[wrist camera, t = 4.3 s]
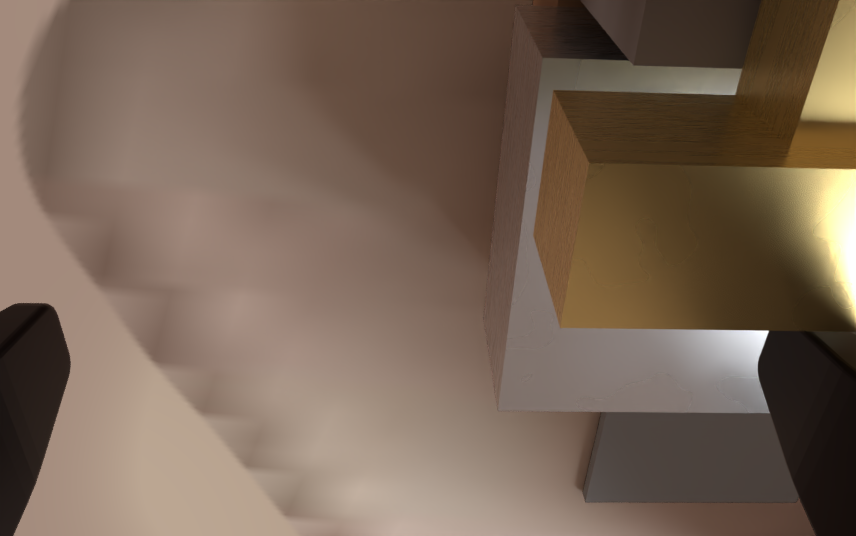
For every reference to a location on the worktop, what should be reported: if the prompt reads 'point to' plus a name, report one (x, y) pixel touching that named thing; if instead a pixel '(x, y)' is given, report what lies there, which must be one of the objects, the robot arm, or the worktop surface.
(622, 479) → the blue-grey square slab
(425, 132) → the worktop surface
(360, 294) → the worktop surface
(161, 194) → the worktop surface
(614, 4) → the plane body
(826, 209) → the bar
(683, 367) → the grey rectangular box
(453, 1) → the worktop surface
